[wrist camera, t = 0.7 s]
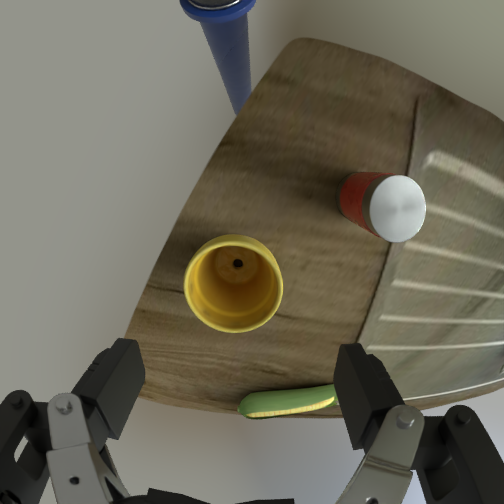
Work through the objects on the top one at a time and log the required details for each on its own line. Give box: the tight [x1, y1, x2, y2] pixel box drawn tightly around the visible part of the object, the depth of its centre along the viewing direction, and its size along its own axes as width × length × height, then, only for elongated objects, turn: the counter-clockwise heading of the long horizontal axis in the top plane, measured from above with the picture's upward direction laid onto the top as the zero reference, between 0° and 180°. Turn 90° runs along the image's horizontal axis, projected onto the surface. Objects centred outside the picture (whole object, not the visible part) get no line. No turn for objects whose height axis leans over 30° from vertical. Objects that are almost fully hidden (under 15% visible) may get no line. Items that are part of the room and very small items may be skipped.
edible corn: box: [238, 384, 338, 419], centre depth 42 cm, size 5×20×5 cm, turn 98°
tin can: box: [336, 172, 426, 243], centre depth 29 cm, size 7×7×12 cm
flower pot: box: [183, 234, 283, 333], centre depth 32 cm, size 10×10×10 cm
